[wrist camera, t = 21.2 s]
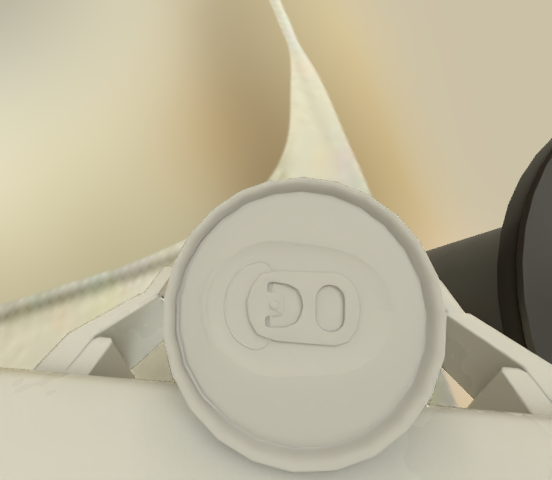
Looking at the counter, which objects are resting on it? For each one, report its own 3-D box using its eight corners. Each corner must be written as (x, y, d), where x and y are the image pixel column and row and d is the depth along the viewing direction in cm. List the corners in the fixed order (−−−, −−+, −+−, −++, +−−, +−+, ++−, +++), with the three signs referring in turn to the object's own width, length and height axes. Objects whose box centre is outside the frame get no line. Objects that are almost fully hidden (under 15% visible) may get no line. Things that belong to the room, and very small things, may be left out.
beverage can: (259, 258, 16) (175, 166, 5) (331, 261, 16) (443, 171, 4) (254, 333, 15) (127, 467, 4) (331, 338, 15) (476, 507, 3)
